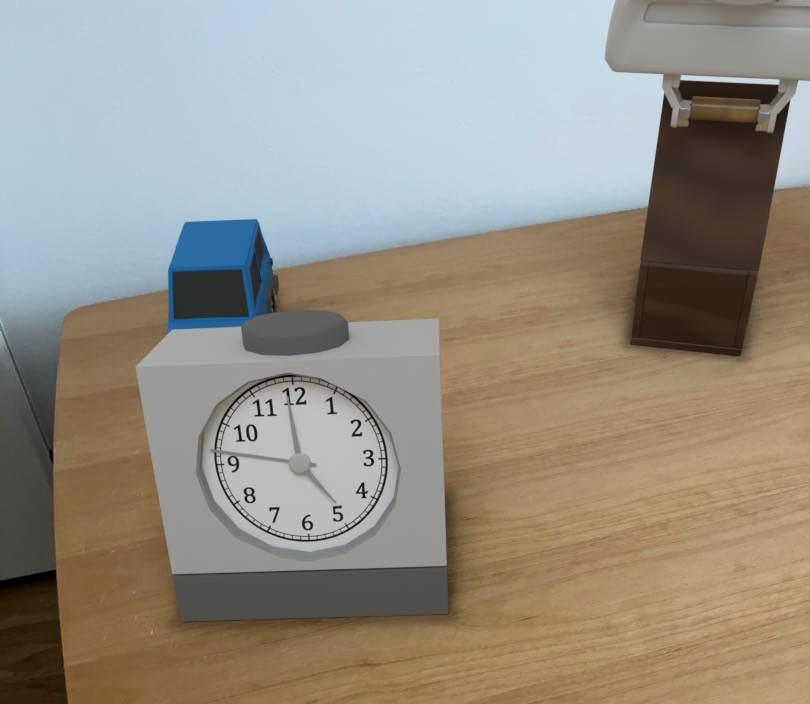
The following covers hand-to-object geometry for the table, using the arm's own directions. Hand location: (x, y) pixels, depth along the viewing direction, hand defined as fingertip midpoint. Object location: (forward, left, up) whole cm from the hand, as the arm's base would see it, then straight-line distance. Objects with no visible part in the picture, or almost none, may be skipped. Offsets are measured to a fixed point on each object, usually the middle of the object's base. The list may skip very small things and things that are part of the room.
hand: (720, 127), depth 85 cm
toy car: (+46, -2, -22) cm, 51 cm away
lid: (-1, -2, -5) cm, 6 cm away
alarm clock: (+34, +27, -22) cm, 49 cm away
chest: (-2, -6, -21) cm, 22 cm away
